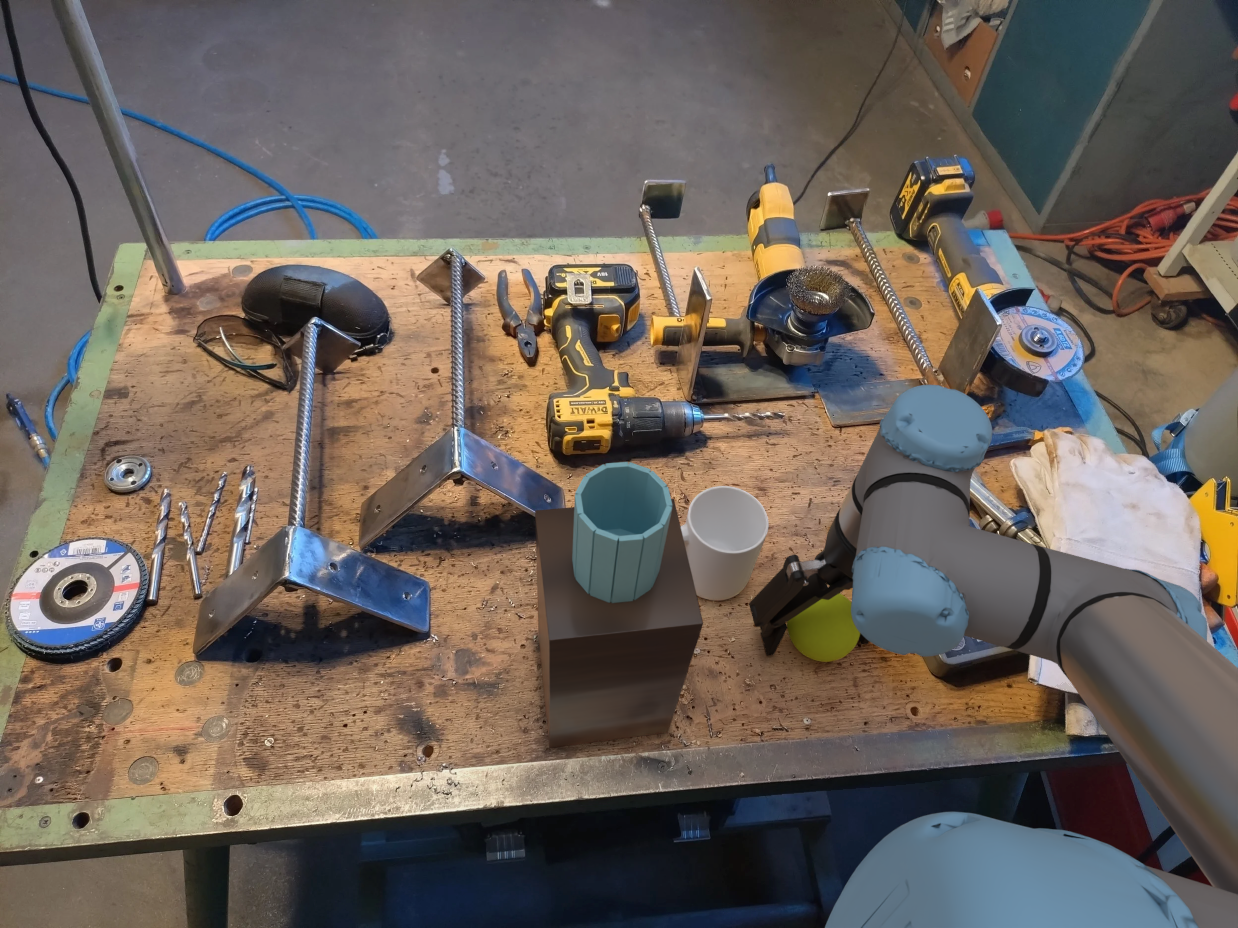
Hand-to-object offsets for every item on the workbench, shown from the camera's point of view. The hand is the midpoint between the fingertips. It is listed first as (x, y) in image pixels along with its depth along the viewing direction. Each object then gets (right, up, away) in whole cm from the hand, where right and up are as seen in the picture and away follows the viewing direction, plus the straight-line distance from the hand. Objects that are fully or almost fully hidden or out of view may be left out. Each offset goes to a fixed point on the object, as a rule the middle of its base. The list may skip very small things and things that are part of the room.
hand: (814, 638), depth 88 cm
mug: (-12, +7, +5) cm, 15 cm away
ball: (0, 0, 0) cm, 0 cm away
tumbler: (-22, +11, -23) cm, 34 cm away
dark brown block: (-23, -4, -5) cm, 24 cm away
